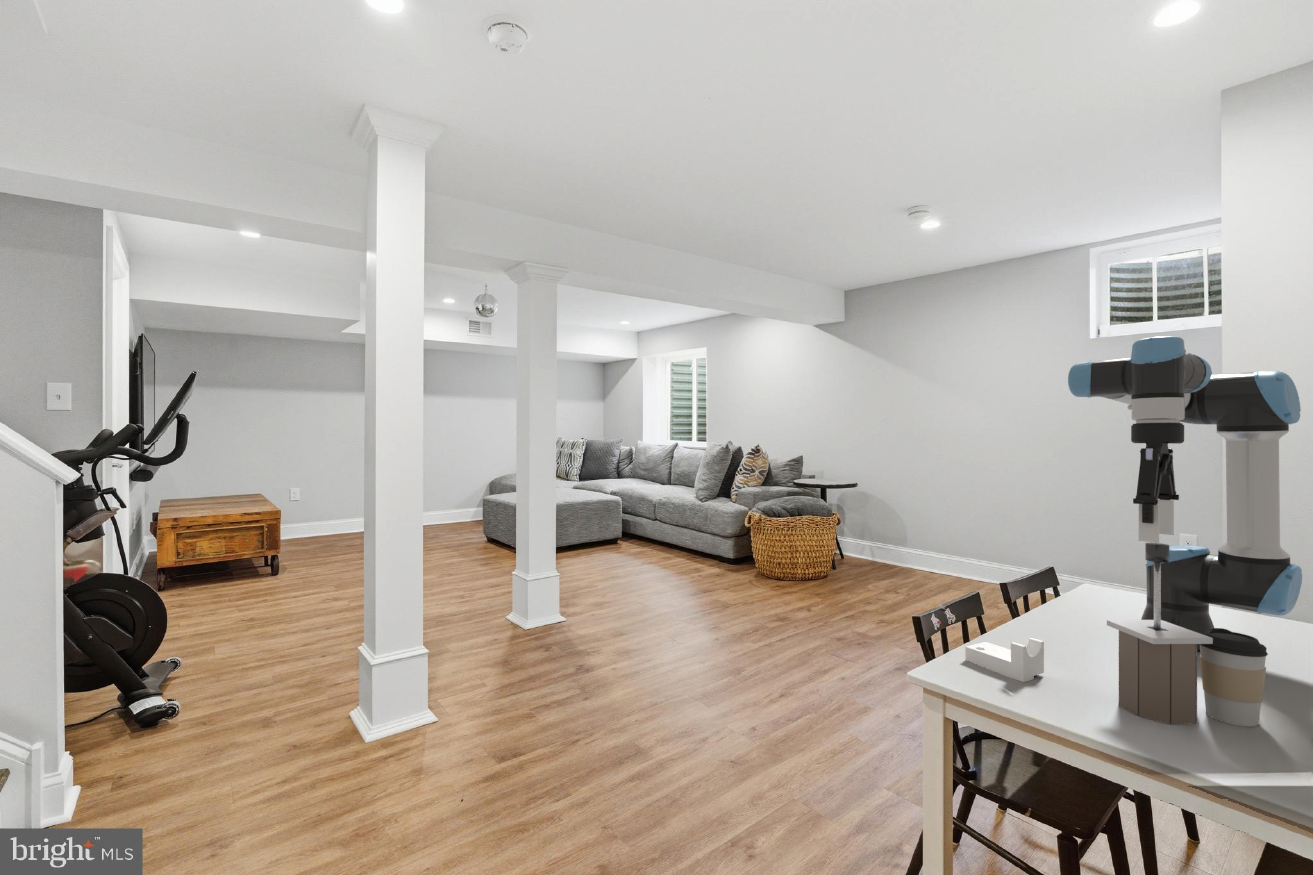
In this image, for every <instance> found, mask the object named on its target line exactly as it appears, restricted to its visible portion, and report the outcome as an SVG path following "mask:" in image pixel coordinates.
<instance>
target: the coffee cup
mask: <svg viewBox="0 0 1313 875" xmlns="http://www.w3.org/2000/svg"><path fill="white" fill-rule="evenodd" d="M1205 636H1208V637H1211V638H1213V644H1200V650H1199V652H1200V655H1199V662H1200V674H1201V683H1202V690H1203V694H1204V704H1205V712H1206V715H1207V716H1209V717H1211V718H1213V719H1214V720H1218V721H1221V722H1222V723H1227V724H1230V725H1235V726H1242V727H1257V726H1259V724H1260V717H1261V716H1260V714H1261V708H1262V707H1261V706H1262V705H1261V704H1262V702H1263V698H1264V691H1265V690H1264V689H1265V681H1266V672H1267V667H1266V661H1267V660H1266V659H1267V656H1268V655H1269V654H1268V652H1267V647H1266V646H1265V644H1262V643H1260V641H1259V640H1258V638H1256V637H1254V636H1251V635H1249V634H1244V633H1240V632H1234V631H1232V630H1229V629H1226V628H1220V627H1214V628H1213V629H1211V630H1210V631H1207V632H1206V634H1205Z"/></svg>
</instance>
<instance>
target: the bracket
mask: <svg viewBox="0 0 1313 875" xmlns="http://www.w3.org/2000/svg"><path fill="white" fill-rule="evenodd" d="M964 648H965V649H964V650H965V652H964V653H965V655H964V657H965V658H964V659H965V661H966V660H967V661H966V662H968V661H970V662H969V663H971V662H972V664H973V663H975V665H976V664H977V665H976V666H979V665H980V666H979V667H982V668H984V667H985V668H984V669H987V670H989V669H990V670H989V671H991V670H993V671H992V672H994V673H996V672H997V673H996V674H999V675H1002V676H1005V677H1008V678H1011V679H1013V680H1017V681H1019V682H1020V683H1021V682H1022V683H1025V682H1029V681H1033V680H1034V678H1035V677H1034V676H1037V675H1042V674H1044V673H1045V641H1044V640H1041V639H1037V638H1034V637H1030V638H1028V641H1027V645H1025V644H1021V643H1018V642H1015V641H1012V642H1011V643H1010V649H1009V648H1007V647H1004V646H1000V645H997V644H994V643H991V642H987V641H983V642H979V643H974V644H971V645H966V646H965V647H964Z"/></svg>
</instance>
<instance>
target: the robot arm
mask: <svg viewBox="0 0 1313 875" xmlns="http://www.w3.org/2000/svg"><path fill="white" fill-rule="evenodd" d="M1131 346H1132V348H1131V355H1130V357H1128V358H1118V359H1116V358H1115V359H1105V360H1104V359H1103V360H1095V361H1094V360H1093V361H1092V360H1089V361H1085V362H1078V363H1075V364H1074V365H1072V366H1071V368H1069V371H1068V377H1067V384H1068V389H1069V391H1070V393H1071V394H1072V395H1073V396H1074V397H1077V398H1088V399H1089V398H1095V397H1097V398H1098V397H1099V398H1104V399H1108V400H1111V401H1112V400H1113V401H1115V402H1119V403H1123V404H1127V405H1128V406H1127V409H1128V410H1129V411H1131V420H1132V421H1135V423H1132V424H1131V426H1130V441H1131V442H1132V444H1145V445H1146V446H1145V448H1144V447H1143V448H1140V450H1139V453H1140V457H1139V458H1140V461H1139V462H1140V463H1139V468H1138V469H1139V471H1138V477H1137V487H1136V495H1135V497H1134V498H1133V499H1132V503H1133V504H1134V505H1135V504H1136V505H1138V541H1139V542H1144V543H1160V535H1169V536H1174V533H1175V531H1174V530H1175V529H1174V528H1175V519H1174V518H1175V515H1174V514H1175V509H1174V508H1175V504H1174V503H1175V501H1179V500H1180V494H1177V491H1176V482H1175V471H1174V456H1173V453H1174V449H1173V448H1172V447H1169V444H1172V445H1173V444H1174V445H1175V444H1179V445H1180V444H1183V443H1184V442H1185V424H1192V425H1216V433H1217V434H1218V435H1219V436H1221V437H1222V438H1224V439H1225V440H1224V441H1225V484H1226V498H1225V499H1226V500H1225V501H1226V543H1224V544H1223V545H1222V546H1220V547H1219V548H1218V550H1217V552H1218V553H1217V554H1218V555H1217V554H1211V550H1210V549H1209V548H1208V547H1207V546H1200V545H1199V546H1198V545H1169V562H1168V563H1162V562H1161V620H1163V621H1166V622H1169V623H1171V624H1174V625H1177V626H1180V627H1183V628H1186V629H1188V630H1191V631H1194V632H1197V633H1200V634H1203V635H1205V634H1206V632H1207V631H1210V630H1211V629H1213V628H1215V625H1214V622H1213V620H1212V618H1211V616H1210V605H1215V606H1221V607H1225V608H1232V609H1238V610H1243V611H1247V612H1248V611H1249V612H1253V613H1256V614H1260V615H1261V614H1265V615H1271V616H1277V617H1279V616H1281V617H1282V616H1286V615H1288V614H1290V613H1291V612H1292V610H1293V609H1294V608H1295V606H1296V604H1297V602H1298V599H1299V596H1300V594H1301V588H1302V583H1303V582H1302V581H1303V574H1302V567H1301V566H1299V565H1296V564H1295V563H1291V554H1289V553H1288V552H1287V551H1286V550H1284V549H1283V548H1282V547H1281V525H1280V524H1281V521H1280V520H1281V519H1280V518H1281V517H1280V516H1281V512H1280V510H1281V509H1280V504H1281V501H1280V498H1281V497H1280V439H1281V438H1282V437H1283V436H1285V435H1286V434H1288V433H1289V432H1290V429H1289V428H1290V425H1293V424H1296V423H1298V422H1299V420H1301V419H1300V418H1301V410H1302V409H1301V401H1300V397H1299V392H1298V389H1297V386H1296V385H1295V382H1294V380H1293V379H1292V377H1291V376H1290V375H1288V374H1287V373H1285V372H1283V371H1279V370H1278V371H1277V370H1275V371H1274V370H1273V371H1261V370H1260V371H1258V370H1257V371H1251V372H1250V371H1249V372H1237V373H1236V372H1235V373H1224V374H1222V373H1221V374H1213V371H1212V370H1213V369H1212V367H1211V365H1210V364H1209V362H1208V361H1207V360H1206V359H1204V358H1202V357H1200V356H1199V355H1196V354H1192V353H1186V352H1187V350H1186V348H1185V339H1184V338H1182V337H1180V336H1176V335H1175V336H1174V335H1173V336H1171V335H1170V336H1169V335H1168V336H1154V337H1145V338H1141V339H1138V340H1135V341H1134V342H1133V343H1132V345H1131ZM1184 423H1185V424H1184ZM1145 567H1146V573H1145V574H1146V605H1145V608H1144V611H1143V613H1142V616H1141V618H1140V620H1154V562H1152V561H1147V560H1146V564H1145ZM1197 651H1200V644H1197Z"/></svg>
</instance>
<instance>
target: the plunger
mask: <svg viewBox="0 0 1313 875" xmlns="http://www.w3.org/2000/svg"><path fill="white" fill-rule="evenodd" d="M1144 543H1145V551H1144V552H1145V554H1144V555H1145V558H1144V559H1145V561H1146V562H1147V561H1152V562H1154V630H1156V631H1161V562H1162V563H1168V562H1169V546H1170V545H1169V544H1167V543H1166V544H1165V543H1161V542H1159V543H1155V542H1144Z"/></svg>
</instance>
